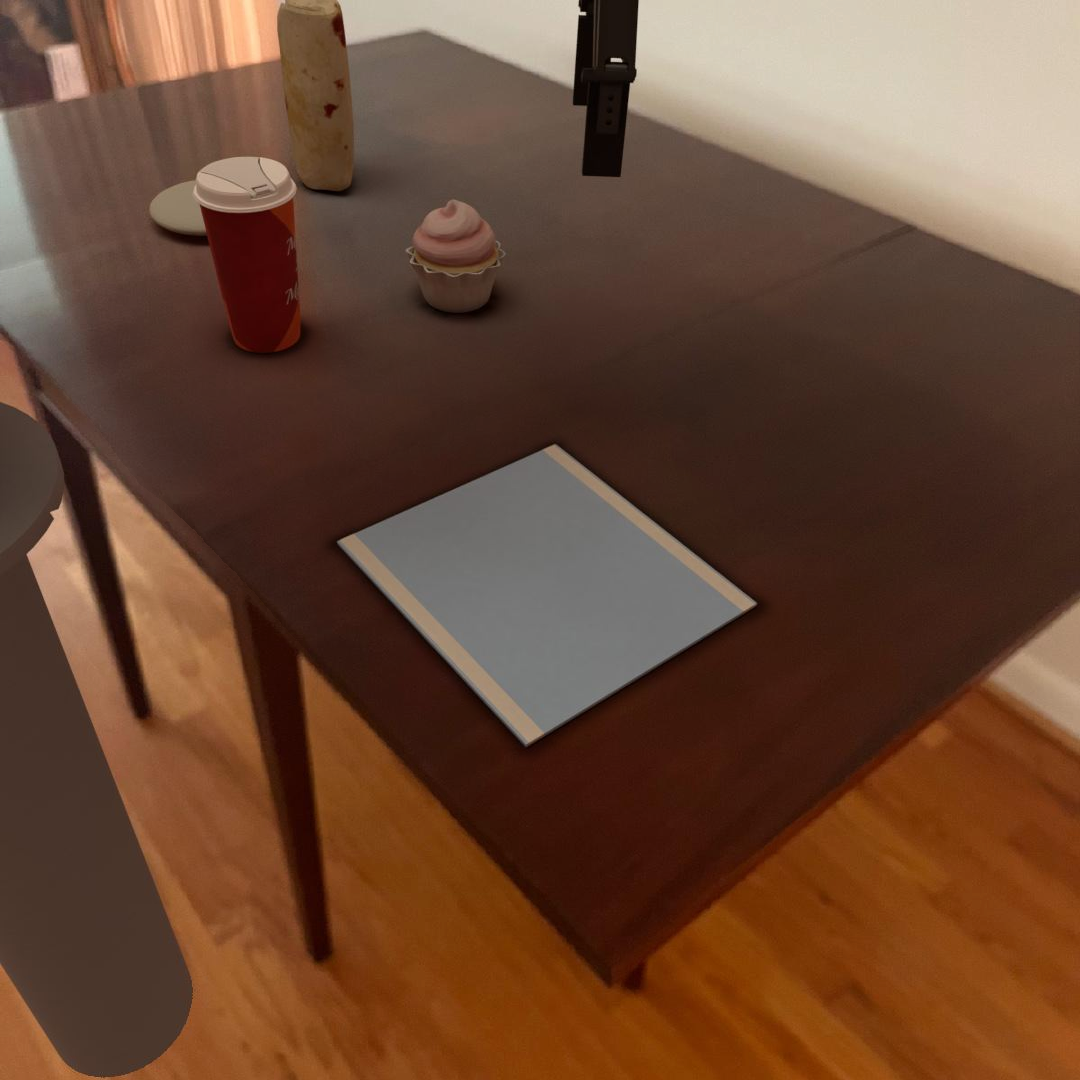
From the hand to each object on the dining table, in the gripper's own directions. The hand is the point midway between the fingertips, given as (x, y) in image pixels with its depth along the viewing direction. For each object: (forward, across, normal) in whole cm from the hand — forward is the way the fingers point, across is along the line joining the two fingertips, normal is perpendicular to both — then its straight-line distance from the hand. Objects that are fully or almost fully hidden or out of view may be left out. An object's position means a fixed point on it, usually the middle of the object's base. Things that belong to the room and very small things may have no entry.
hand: (594, 137), depth 79 cm
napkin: (+21, -26, +4) cm, 33 cm away
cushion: (+21, +27, +37) cm, 51 cm away
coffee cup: (+21, +4, +28) cm, 35 cm away
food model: (+21, +38, +27) cm, 51 cm away
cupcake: (+21, +12, +11) cm, 26 cm away
